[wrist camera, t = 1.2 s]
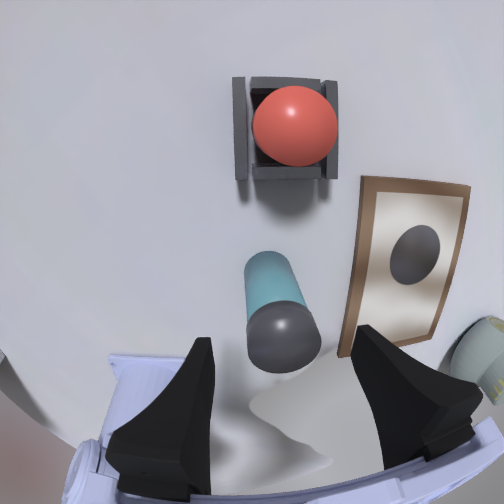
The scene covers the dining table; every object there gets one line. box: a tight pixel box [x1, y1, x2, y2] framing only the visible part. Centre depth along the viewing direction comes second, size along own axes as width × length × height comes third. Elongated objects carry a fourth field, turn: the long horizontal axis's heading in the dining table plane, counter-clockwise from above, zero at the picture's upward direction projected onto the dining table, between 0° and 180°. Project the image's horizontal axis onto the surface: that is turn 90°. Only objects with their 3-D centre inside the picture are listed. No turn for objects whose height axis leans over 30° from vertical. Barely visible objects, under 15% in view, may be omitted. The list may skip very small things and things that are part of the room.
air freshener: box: [450, 316, 504, 405], centre depth 22 cm, size 11×8×10 cm
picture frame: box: [337, 176, 471, 358], centre depth 21 cm, size 16×11×1 cm
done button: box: [251, 86, 338, 167], centre depth 14 cm, size 4×4×3 cm
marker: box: [244, 251, 321, 373], centre depth 17 cm, size 4×4×8 cm
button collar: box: [232, 77, 338, 180], centre depth 15 cm, size 6×6×2 cm
